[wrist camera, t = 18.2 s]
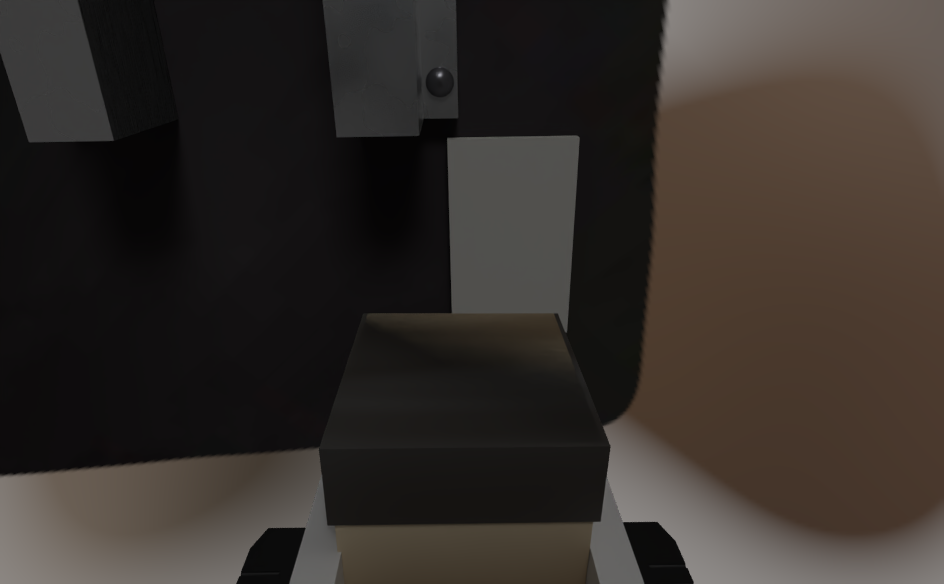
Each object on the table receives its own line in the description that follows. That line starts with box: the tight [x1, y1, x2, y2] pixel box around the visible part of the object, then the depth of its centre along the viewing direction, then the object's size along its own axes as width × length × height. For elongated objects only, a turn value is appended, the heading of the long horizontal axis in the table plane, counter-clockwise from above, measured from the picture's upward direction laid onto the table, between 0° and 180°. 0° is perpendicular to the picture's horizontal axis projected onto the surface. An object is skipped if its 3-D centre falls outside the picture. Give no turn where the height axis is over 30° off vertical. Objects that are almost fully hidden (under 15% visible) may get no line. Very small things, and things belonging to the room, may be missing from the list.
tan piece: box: [319, 313, 610, 584], centre depth 13 cm, size 9×5×5 cm, turn 179°
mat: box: [447, 136, 579, 332], centre depth 29 cm, size 10×6×1 cm, turn 1°
